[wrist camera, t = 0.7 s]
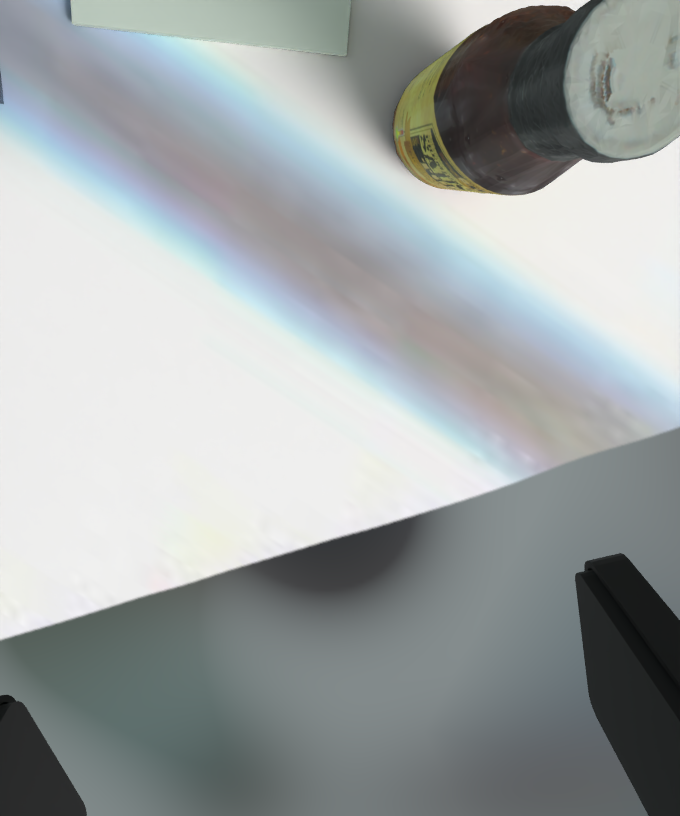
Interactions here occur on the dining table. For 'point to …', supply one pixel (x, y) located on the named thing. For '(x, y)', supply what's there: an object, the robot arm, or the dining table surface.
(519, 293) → the dining table surface
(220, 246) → the dining table surface
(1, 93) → the plate
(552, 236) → the dining table surface
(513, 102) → the sauce bottle
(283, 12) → the sage mat
